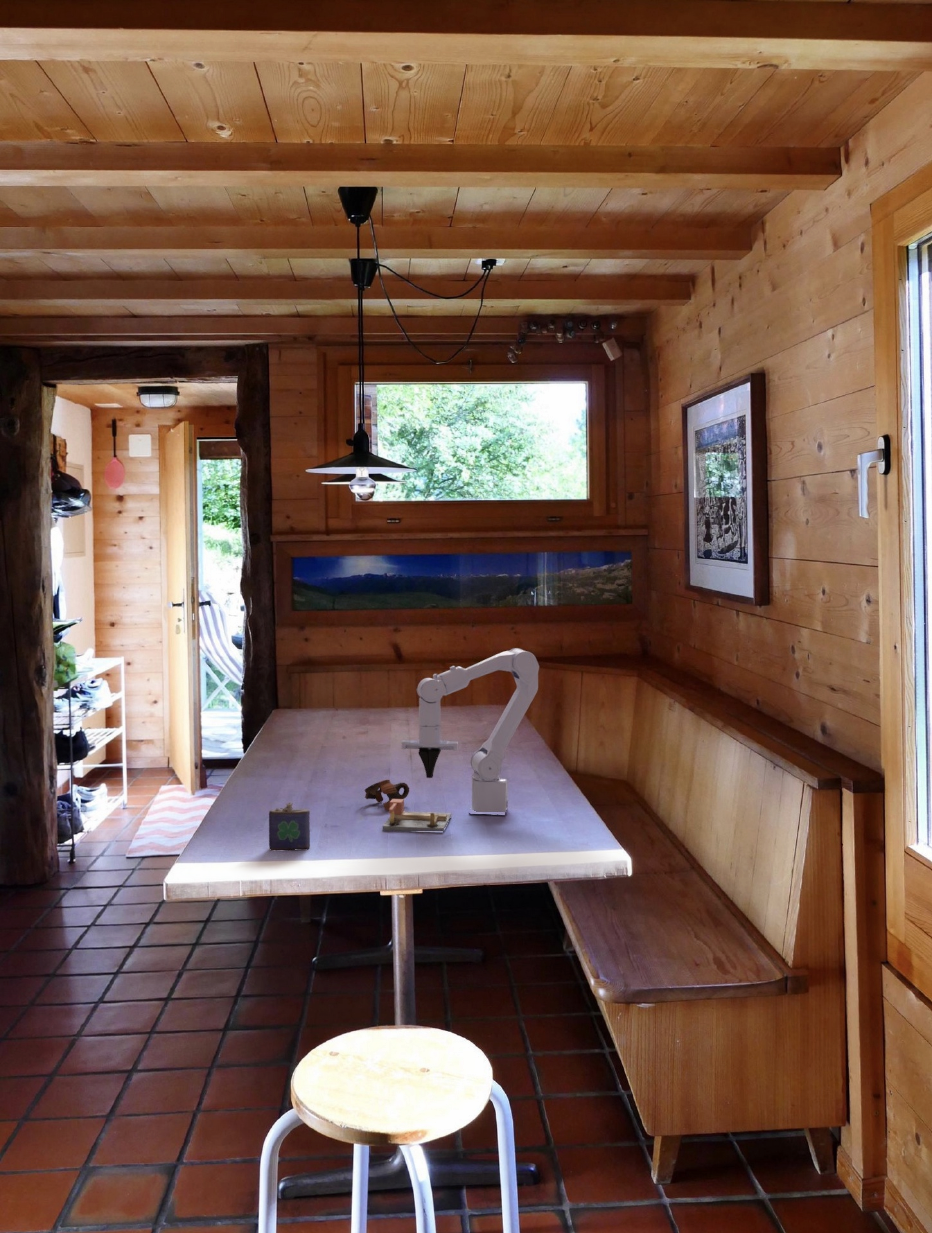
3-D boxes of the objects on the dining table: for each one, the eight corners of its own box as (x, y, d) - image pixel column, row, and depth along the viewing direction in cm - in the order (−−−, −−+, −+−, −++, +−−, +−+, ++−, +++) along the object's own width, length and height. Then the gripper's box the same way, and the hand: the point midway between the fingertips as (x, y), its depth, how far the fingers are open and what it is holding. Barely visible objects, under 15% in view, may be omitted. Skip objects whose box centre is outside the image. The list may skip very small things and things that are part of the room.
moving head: (404, 814, 240) (403, 799, 240) (396, 824, 231) (396, 808, 230) (392, 814, 240) (392, 798, 240) (384, 824, 231) (384, 808, 231)
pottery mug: (376, 815, 247) (365, 786, 249) (369, 822, 255) (358, 794, 257) (418, 799, 252) (406, 770, 254) (409, 806, 260) (398, 778, 262)
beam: (446, 818, 238) (446, 806, 238) (442, 826, 230) (442, 814, 230) (392, 816, 240) (392, 804, 239) (385, 824, 232) (385, 812, 232)
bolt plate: (451, 817, 243) (451, 812, 243) (443, 833, 229) (443, 827, 229) (394, 815, 245) (394, 810, 245) (382, 830, 231) (382, 825, 231)
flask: (310, 846, 218) (309, 800, 217) (309, 850, 215) (308, 804, 215) (269, 847, 217) (269, 801, 217) (268, 851, 214) (267, 804, 214)
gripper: (459, 723, 247) (459, 774, 248) (405, 721, 249) (405, 772, 250) (456, 727, 240) (455, 780, 241) (399, 726, 242) (399, 778, 243)
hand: (429, 777), depth 245 cm, fingers closed
